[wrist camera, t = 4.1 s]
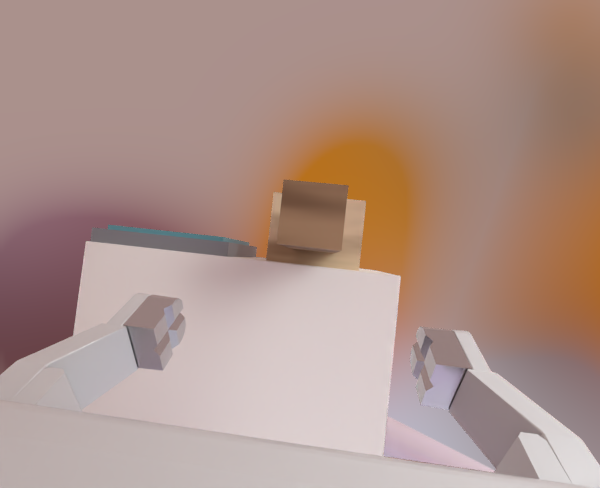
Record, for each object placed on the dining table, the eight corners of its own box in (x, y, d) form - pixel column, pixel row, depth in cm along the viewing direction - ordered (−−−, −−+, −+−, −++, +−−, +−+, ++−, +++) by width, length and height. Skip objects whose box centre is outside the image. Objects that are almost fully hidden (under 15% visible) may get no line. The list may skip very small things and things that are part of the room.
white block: (353, 480, 35) (374, 270, 36) (369, 596, 23) (400, 276, 24) (135, 445, 37) (160, 246, 38) (45, 535, 25) (86, 241, 26)
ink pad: (255, 257, 36) (257, 243, 36) (227, 256, 25) (229, 237, 25) (158, 246, 37) (160, 233, 37) (90, 241, 26) (92, 222, 26)
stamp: (382, 278, 16) (393, 166, 16) (233, 262, 17) (246, 153, 17) (350, 267, 34) (355, 214, 34) (278, 259, 34) (284, 207, 35)
